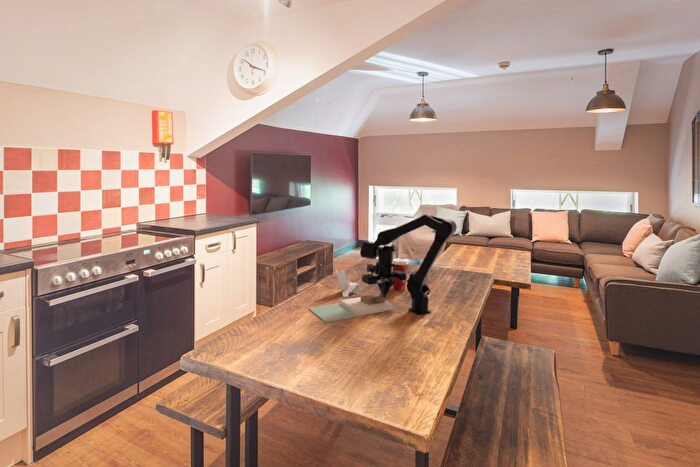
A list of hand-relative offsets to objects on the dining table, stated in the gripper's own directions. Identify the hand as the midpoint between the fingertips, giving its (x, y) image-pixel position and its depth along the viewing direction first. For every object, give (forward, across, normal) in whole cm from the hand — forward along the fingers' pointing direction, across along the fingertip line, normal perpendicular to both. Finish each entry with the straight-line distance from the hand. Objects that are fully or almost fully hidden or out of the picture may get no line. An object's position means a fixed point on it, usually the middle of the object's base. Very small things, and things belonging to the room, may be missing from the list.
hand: (383, 297), depth 171 cm
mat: (+3, +23, 0) cm, 24 cm away
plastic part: (+4, +6, -20) cm, 21 cm away
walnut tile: (+1, +5, 0) cm, 6 cm away
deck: (+3, +8, 0) cm, 9 cm away
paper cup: (+3, -18, -15) cm, 24 cm away
